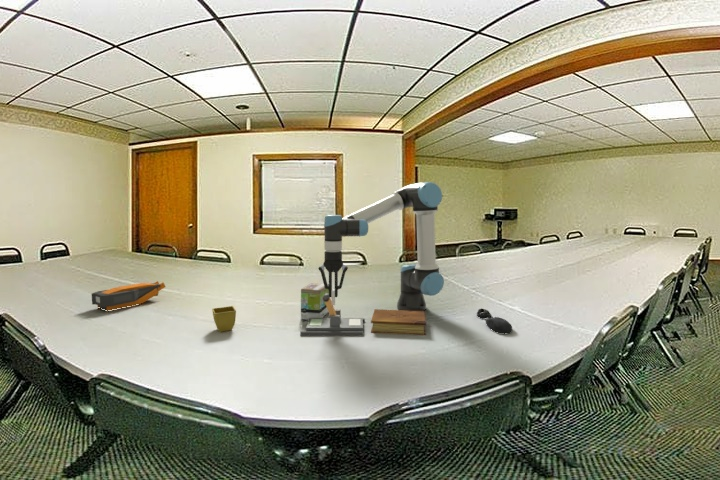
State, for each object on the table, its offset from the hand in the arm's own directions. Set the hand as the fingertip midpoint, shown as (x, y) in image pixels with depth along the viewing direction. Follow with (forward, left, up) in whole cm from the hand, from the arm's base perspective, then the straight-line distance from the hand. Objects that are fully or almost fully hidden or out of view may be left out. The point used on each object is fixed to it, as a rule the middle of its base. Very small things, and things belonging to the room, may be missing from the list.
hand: (333, 304), depth 164 cm
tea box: (+10, -19, -11) cm, 24 cm away
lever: (-1, 0, -7) cm, 7 cm away
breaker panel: (-1, 0, -11) cm, 11 cm away
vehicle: (+112, -40, -11) cm, 119 cm away
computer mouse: (-73, -8, -11) cm, 74 cm away
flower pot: (+47, +2, -11) cm, 48 cm away
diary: (-29, -2, -11) cm, 31 cm away
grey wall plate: (-1, 0, -11) cm, 11 cm away
